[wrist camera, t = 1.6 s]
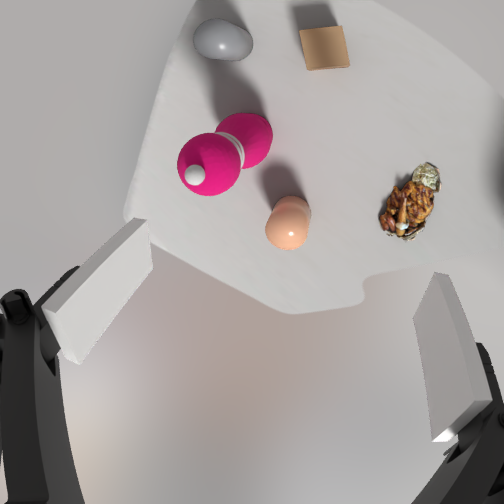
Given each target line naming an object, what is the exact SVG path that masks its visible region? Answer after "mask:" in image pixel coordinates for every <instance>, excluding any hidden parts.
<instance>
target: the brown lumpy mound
mask: <svg viewBox="0 0 504 504" xmlns="http://www.w3.org/2000/svg"><path fill="white" fill-rule="evenodd" d="M439 176H440V173H439V169H437V168H435V167H433V166H431V165H429V164H427V163H425V164H424V165H423V166H421V164H420V165H419V166H418V167H417V168H416V169H415V170H414V174H413V179H412V181H409V182H407V183H406V184H405V186H404V187H403V189H402V190H401V191H399V188H397V187H396V186H394V187H393V188H394V189H393V192H392V193H391V195H390V196H389V198H388V200H387V202H386V204H387V209H386V212H385V214H384V215H381V216H380V217H379V224H380V227H381V229H382V230H383V231H388V232H389V233H390V235H391V234H393V235H394V234H396V235H397V237H398V238H402V239H403V240H405V241H406V240H407V241H412V240H414V239H415V236H416V235H417V233H419V232H421V231H423V229H424V227H425V224H426V220H427V218H428V217H429V215H430V214H431V212H432V210H433V206H434V195H433V193H435V192H439V190H440V188H441V186H442V184H441V182H440V181H439ZM435 184H436V186H435ZM410 232H412V233H411V234H410V235H404V234H408V233H410ZM387 235H388V236H390V235H389V234H387ZM393 235H391V236H393Z"/></svg>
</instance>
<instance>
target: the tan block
mask: <svg viewBox="0 0 504 504" xmlns="http://www.w3.org/2000/svg"><path fill="white" fill-rule="evenodd" d="M299 33H300V38H301V42H302V47H303V52H304V57H305V62H306V67H307V70H309V71H312V70H322V69H332V68H344V67H349V66H350V63H349V58H348V52H347V47H346V42H345V38H344V33H343V28H342V26H333V27H322V28H313V29H305V30H299Z"/></svg>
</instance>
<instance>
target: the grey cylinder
mask: <svg viewBox="0 0 504 504" xmlns="http://www.w3.org/2000/svg"><path fill="white" fill-rule="evenodd" d="M193 42H194V46H195V49H196V50H197V52H198V53H199V54H201V55H202V56H204V57H207V58H213V59H221V60H228V61H240V60H242V59H244V58H246V57H247V56H248V55H249V54H250V53H251V51H252V48H253V39H252V37H251V35H250V34H249V33H248V32H247V31H245V30H244V29H242V28H240V27H238V26H236V25H233V24H231V23H229V22H227V21H225V20H222V19H210V20H207V21H205V22H203V23H202V24H201V25H200V26H199V27H198V28H197V30H196V31H195V34H194V39H193Z"/></svg>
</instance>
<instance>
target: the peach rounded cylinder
mask: <svg viewBox="0 0 504 504" xmlns="http://www.w3.org/2000/svg"><path fill="white" fill-rule="evenodd" d="M310 218H311V210H310V207H309V205H308V204H307V202H306V201H304V200H303V199H302V198H300V197H297V196H285V197H283V198H281V199H280V200H278V202H277V203H276V205H275V207H274V209H273V211H272V213H271V215H270V217H269V219H268V221H267V223H266V228H265V231H266V236H267V238H268V240H269V241H270V242H271V243H272V244H273V245H274V246H276V247H278V248H280V249H284V250H292V249H296V248H298V247H300V246H301V245H302V244H303V243H304V242H305V240H306V238H307V233H308V228H309V223H310Z"/></svg>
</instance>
